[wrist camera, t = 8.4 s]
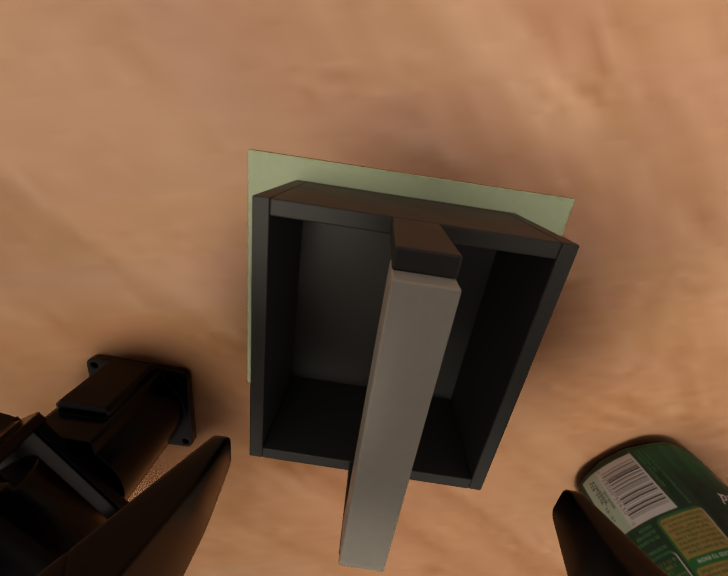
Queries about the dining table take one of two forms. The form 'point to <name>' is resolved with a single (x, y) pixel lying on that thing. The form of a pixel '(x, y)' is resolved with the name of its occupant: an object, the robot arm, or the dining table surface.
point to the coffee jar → (665, 506)
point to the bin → (392, 340)
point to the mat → (285, 168)
